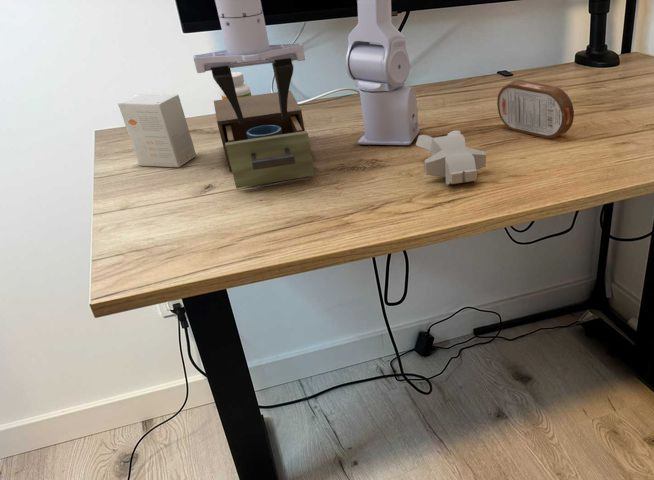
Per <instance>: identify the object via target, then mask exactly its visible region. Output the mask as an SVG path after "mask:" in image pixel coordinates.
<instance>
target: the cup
mask: <svg viewBox="0 0 654 480" xmlns="http://www.w3.org/2000/svg"><path fill="white" fill-rule="evenodd" d="M275 135H282V129H281V127H280V126H278V125H262V126H257V127H254V128H251V129H249V130H248V131H247V138H248V139H255V138H261V137H268V136H275Z"/></svg>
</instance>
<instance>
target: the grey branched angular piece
mask: <svg viewBox="0 0 654 480" xmlns="http://www.w3.org/2000/svg"><path fill="white" fill-rule="evenodd" d="M415 145H416V146H417V147H419V148H422V149H425V150H427V151H430V157H428V158H425V159H424V174H425V175H426V176H432V177H433V176H434V177H442V178H445V184H446V185H448V186H449V185H456V184H463V183H469V182H475V181H478V170H480V169H483V168H486V167H487V166H486V165H487V154H486V151H483V150H479V149H476V148H471V147H467V146H466V139H465V136H464V135H463V134H462V133H461V131H460V130H452V131H449V132H448V133H447V135H443V136H436V137H432V136H430V135H427V134H420V135H418V137H417V139H416V143H415Z"/></svg>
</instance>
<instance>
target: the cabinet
mask: <svg viewBox="0 0 654 480" xmlns="http://www.w3.org/2000/svg"><path fill="white" fill-rule="evenodd" d="M237 99H238V102H239V106H240V109H241V112H242V115H243V119H244V121H251V120H258V119H266V118H273V117H280V116H282V115H281V110H280V105H279V96H278V91H277V92H269V93H261V94H254V95H251V96H245V97H238V98H237ZM213 106H214V113H215V119H216V123H217V127H218V132H219V134H220V139H221V140H220V141H221V143H222V148H223V151H224V155H225V159H226V163H227V166H228V171H229V172H230V173H232V169H231V165H230V161H229V157H228V153H227V149H226V145H225V143H227V142H229V141H228V136H227V131H226V126H225V124H230V123H237V122H239V121H238V118H237V116H236V113H235V111H234V109H233V107H232V105H231V103H230V102H229V100H228V99H222V98H221V99H215V100H213ZM287 115H295V117H296V119H297V121H298V123H299V125H300V126H301V128H302V131H306V129H305V124H304V117H303V111H302V109H301V107H300V105H299V104H298V101H297V100H296V98H295V96H294V95H293V93H292V91H291V90H289V92H288V100H287Z"/></svg>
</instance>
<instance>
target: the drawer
mask: <svg viewBox="0 0 654 480" xmlns="http://www.w3.org/2000/svg"><path fill="white" fill-rule="evenodd" d="M262 125H278V126H280V127H281V129H282V135H275V136H268V137H261V138H255V139H248V138H247V131H248V130H249V129H251V128H254V127H257V126H262ZM225 126H226V131H227V136H228V141H229V142H227V143H225V145H226V149H227V153H228V157H229V161H230V165H231V169H232V172H231V173H232V177H233V180H234V184H235V188H236V189H239V188H240V189H241V188H247V187H252V186H258V185H264V184H270V183H277V182H283V181H289V180H294V179H295V180H296V179H301V178H308V177H313V176H316V173H315V172H316V171H315V167H314V161H313V155H312V150H311V144H310V137H309V132H308V131H307V130H305V131H302V128H301V126H300V125H299V123H298V121H297V119H296V117H295V115H288V117H287V118H283V117H282V116H280V117H273V118H266V119H258V120H251V121H244V124H239V122H237V123H230V124H225Z"/></svg>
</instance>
